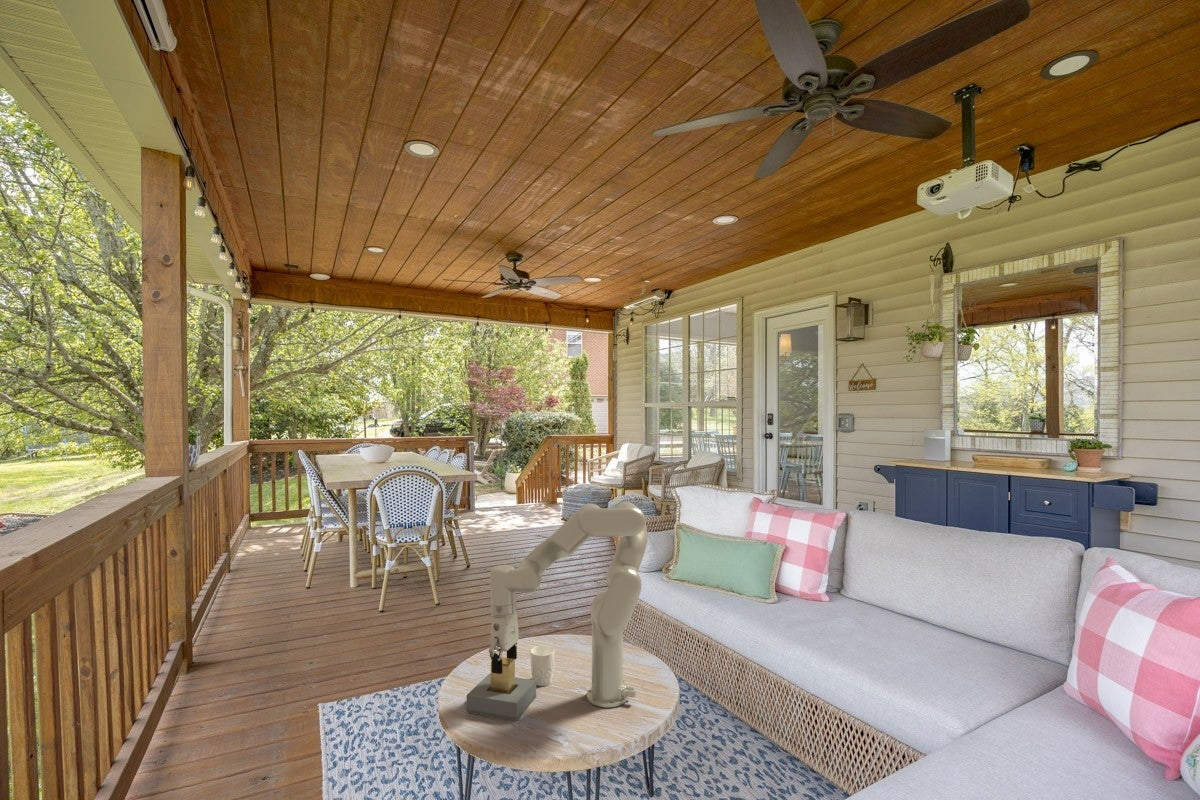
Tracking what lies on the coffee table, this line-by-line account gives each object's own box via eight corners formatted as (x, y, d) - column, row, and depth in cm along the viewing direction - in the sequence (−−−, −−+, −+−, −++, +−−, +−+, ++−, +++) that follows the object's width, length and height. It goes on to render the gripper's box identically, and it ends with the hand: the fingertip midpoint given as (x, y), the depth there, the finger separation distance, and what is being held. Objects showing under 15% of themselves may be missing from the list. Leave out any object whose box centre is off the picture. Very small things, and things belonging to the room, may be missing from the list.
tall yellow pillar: (514, 699, 166) (514, 658, 166) (508, 705, 162) (509, 664, 162) (496, 696, 168) (496, 656, 168) (490, 702, 164) (490, 662, 164)
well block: (536, 697, 169) (536, 680, 169) (516, 721, 156) (516, 703, 156) (489, 689, 174) (489, 673, 174) (466, 712, 160) (466, 694, 160)
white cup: (527, 678, 181) (527, 647, 182) (550, 674, 185) (550, 643, 185) (534, 689, 174) (534, 657, 175) (557, 684, 177) (558, 653, 178)
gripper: (501, 619, 156) (503, 680, 156) (526, 599, 173) (527, 654, 172) (478, 617, 158) (479, 677, 158) (505, 597, 175) (506, 652, 175)
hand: (504, 665), depth 165 cm, fingers open, 9 cm apart
